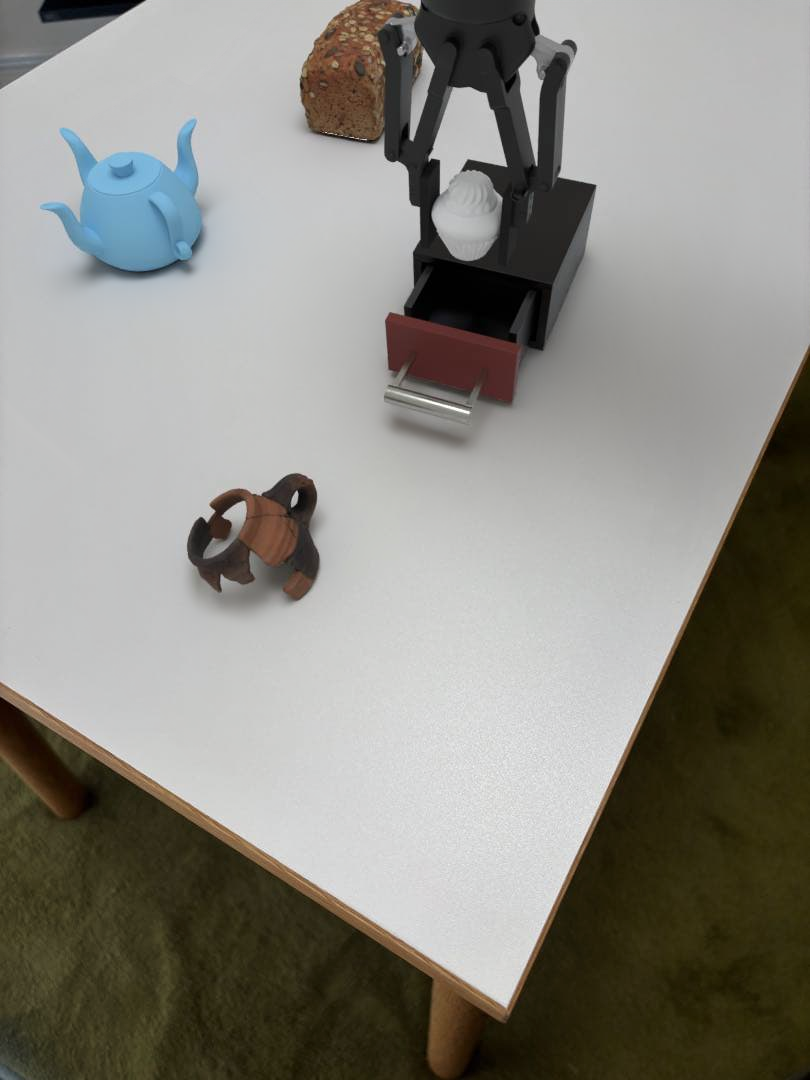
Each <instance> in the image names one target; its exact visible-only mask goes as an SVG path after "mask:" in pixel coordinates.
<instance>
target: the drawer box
mask: <svg viewBox="0 0 810 1080" xmlns="http://www.w3.org/2000/svg"><path fill="white" fill-rule="evenodd" d="M467 170H469V171H472V170H476V171H477V172H478V171H480V172H482V173H483V174H485V175H487V176H488V177H489V178H490V180H491V182H492V184H493V189H494V190H495V191H496V192H497V193H498V194H499V195H500V196H501V197H502V198H503V194H504V192H505V190H506V188H507V186H508V184H509V182H510V176H509V172H508V167H507V166H505V165H500V164H495V163H490V162H485V161H481V160H476V159H469V158H468V159H466V161H465V163H464V165H463V166H462V167H461V169H460V171H459V173H458V174H460V172H466V171H467ZM596 191H597V184H595V183H590V182H586V181H585V182H584V181H579V180H576V179H575V180H574V179H570V178H564V177H560V176H558V178H557V180H556V182H555V184H554V186H553V188H552V190H551V191H550V192H549V193H541V192H540V191H535V192H534V195H533V203H532V213H531V216H530V218H529V220H528V222H527V224H526V226H525V227H524V229H519V228H518V231H517V241H516V248H515V250H514V252H513V254H512V256H511V258H510V260H509V262H508V264H507V266H506V267H505V266H501V265H498V252H499V238H500V235H499V236H498V238H497V239H496V240H495V242H494V243H493V245H492V246H491V247H490V249H489V250H488V251H487V253H486V254H485V255H484V256H483V257H480V259H477V260H473V261H471V260H470V261H465V260H461V259H458V258H455V256H453V255H452V254H451V253H450V252H449V250H448V248H447V247H446V245H445V244H444V242H443V241H442V239H441V238H440V236H439V234H437V236H436V237H435V239H434V241H433V242H432V244H431V246H430V248H429V249H427V248H422V247H421V245H420V240H419V241H418V243H417V244H416V246H415V247H414V250H413V252H412V269H413V271H412V273H413V288H414V287H415V285H416V283H417V282H418V280H419V278H420V276H421V275H422V273H423V271H424V269H425V268H426V266H427V264H428V263H430V264H435V265H439V266H443V267H448V268H452V269H456V270H460V271H465V272H469V273H473V274H478V275H482V276H486V277H490V278H495V279H499V280H503V281H508V282H512V283H516V284H520V285H525V286H529V287H533V288H538V289H542V297H541V305H540V312H539V320H538V322H537V325H536V327H535V329H534V331H533V334H532V336H531V338H530V341H529V343H528V345H527V347H526V348H532V349H536V350H540V351H544V349H545V347H546V345H547V342H548V340H549V338H550V336H551V334H552V331H553V328H554V326H555V324H556V321H557V318H558V316H559V314H560V312H561V309H562V307H563V305H564V303H565V300H566V297H567V296H568V293H569V290H570V288H571V286H572V283H573V281H574V279H575V276H576V274H577V272H578V270H579V267H580V264H581V262H582V260H583V258H584V255H585V252H586V248H587V247H586V246H587V241H588V237H589V236H588V235H589V231H590V225H591V220H592V216H593V215H592V214H593V208H594V203H595V199H596Z"/></svg>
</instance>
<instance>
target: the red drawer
mask: <svg viewBox="0 0 810 1080" xmlns="http://www.w3.org/2000/svg"><path fill="white" fill-rule="evenodd" d="M541 297H542V289H538V288H533V287H529V286H525V285H520V284H516V283H512V282H508V281H503V280H499V279H495V278H490V277H486V276H482V275H478V274H473V273H469V272H465V271H460V270H456V269H452V268H448V267H443V266H439V265H435V264H430V263H428V264H427V266H426V268H425V269H424V271H423V273H422V275H421V276H420V278H419V280H418V282H417V283H416V285H415V287H414V286H413V289H412V291H411V293H410V294H409V295H408V297H407V300H405V302H404V303H403V314H400V313H396V312H392V311H389V312H388V314H387V316H386V317H385V319H384V324H385V325H384V326H385V339H386V352H387V353H386V354H387V367H388V371H391V372H395V373H398V374H397V376H396V378H395V379H394V382H393V383H392V384H387V386H386V387H385V390H384V394H383V402H384V403H387V404H391V405H393V406H397V407H401V408H405V409H408V410H413V411H416V412H420V413H423V414H427V415H430V416H434V417H437V418H441V419H445V420H448V421H452V422H455V423H458V424H463V425H466V426H469V425H470V424H471V422H472V419H473V415H474V406H475V404H476V402H477V401H478V397H479V395H481V396H485V397H488V398H492V399H495V400H500V401H503V402H506V403H510V404H513V402H514V400H515V397H516V395H517V386H518V378H519V370H520V363H521V361H522V359H523V356H524V354H525V353H526V350H527V348H528V347H527V345H528V343H529V341H530V338H531V336H532V334H533V331H534V329H535V327H536V325H537V322H538V320H539V312H540V305H541ZM407 376H409V377H413V378H416V379H417V378H418V379H421V380H425V381H428V382H432V383H435V384H439V385H443V386H448V387H451V388H455V389H458V390H462V391H465V392H470V395H469V397H468V398H467V401H466V403H465V404H461V403H458V402H455V401H451V400H447V399H445V398H440V397H436V396H433V395H429V394H425V393H422V392H418V391H414V390H411V389H408V388H404V387H402V385H403V384H404V381H405V380H406V378H407Z"/></svg>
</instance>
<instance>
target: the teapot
mask: <svg viewBox="0 0 810 1080" xmlns="http://www.w3.org/2000/svg"><path fill="white" fill-rule="evenodd" d="M197 122H198V121H197V119H196V118H191V119H190V120H188V121H187V122H186V123H184V125H183V126H182V127H181V128H180V130H179V132H178V134H177V139H176V148H177V150H176V151H177V163H176V167H175V169H174V170H172V169H171V168H169V166H167V165H166V164H165V163H163V162H162V161H160V160H159V159H158V158H156V157H155V156H153V155H151V154H149V153H145V152H140V151H119V152H115V153H113V154H111V155H109V156H107V157H105V158H103V159H101V160H100V161H97V158H95V157H94V155H93V154H92V152H91V151H90V150H89V149H88V147H87V146H86V144H85V142H83V140H82V139H81V138H80V136H79V135H78V134H77V133H75V131H73V130H71V129H69V128H67V127H60V128H59V130H58V131H59V134H60V135H61V137H62V138H63V140H65V142H66V143H67V144H68V146H69V148H70V149H71V151H72V154H73V156H74V158H75V162H76V166H77V170H78V173H79V178H80V180H81V183H82V185H83V189H82V194H81V199H80V204H79V206H80V207H79V219H78V217H77V216H76V215H75V213H74V211H73V210H72V209H71V207H70V206H68V205H67V204H65V203H63V202H61V201H51V202H46V203H43V204H41V205H40V206H39V208H40V209H41V210H44V211H48V212H51V213H54V214H55V215H56V216H57V217H58V218H59V219H60V221H61V222H62V226H63V227H64V230H65V232H66V234H67V237H68V239H69V240H70V241H71V242H72V244H73V245H74V246H75V247H77V249H78V250H80V251H82V252H84V253H86V254H89V255H94V257H96V258H97V259H99V260H100V261H102V262H103V263H106V264H107V265H110V266H112V267H115V268H117V269H120V270H123V271H128V272H149V271H154V270H155V271H156V270H158V269H162V268H164V267H167V266H170V265H172V264H174V263H175V262H177V261H178V260H181V261H186V260H187V261H188V260H189V259H191V258H192V256H193V250H192V247H193V245H194V244H195V242H196V240H197V239H198V237H199V235H200V232H201V229H202V224H203V216H202V212H201V210H200V207H199V204H198V202H197V200H196V197H195V195H196V193H197V191H198V187H199V182H200V181H199V179H200V178H199V177H200V176H199V171H198V167H197V163H196V160H195V157H194V153H193V148H192V135H193V132H194V130H195V127H196V124H197Z"/></svg>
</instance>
